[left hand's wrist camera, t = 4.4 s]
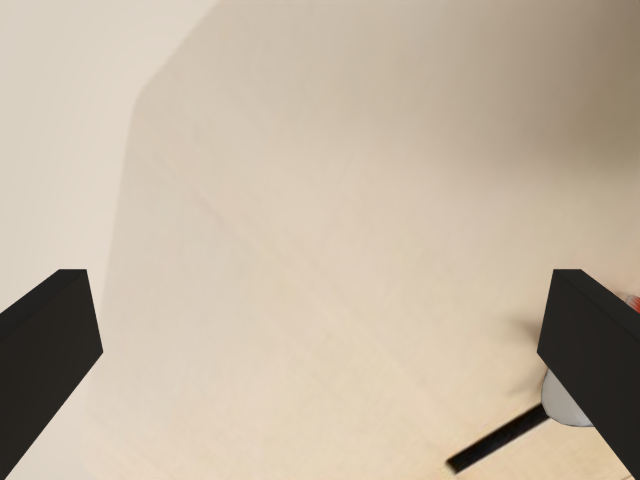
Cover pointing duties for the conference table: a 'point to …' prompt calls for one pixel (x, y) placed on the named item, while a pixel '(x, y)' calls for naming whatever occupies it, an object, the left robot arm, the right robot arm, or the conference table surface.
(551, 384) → the fish
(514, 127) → the conference table surface
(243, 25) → the conference table surface
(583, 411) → the left robot arm
